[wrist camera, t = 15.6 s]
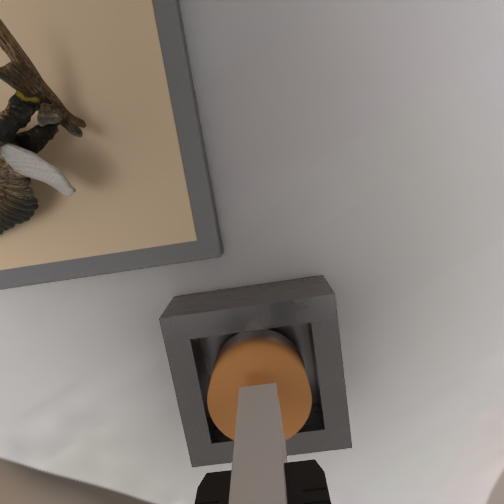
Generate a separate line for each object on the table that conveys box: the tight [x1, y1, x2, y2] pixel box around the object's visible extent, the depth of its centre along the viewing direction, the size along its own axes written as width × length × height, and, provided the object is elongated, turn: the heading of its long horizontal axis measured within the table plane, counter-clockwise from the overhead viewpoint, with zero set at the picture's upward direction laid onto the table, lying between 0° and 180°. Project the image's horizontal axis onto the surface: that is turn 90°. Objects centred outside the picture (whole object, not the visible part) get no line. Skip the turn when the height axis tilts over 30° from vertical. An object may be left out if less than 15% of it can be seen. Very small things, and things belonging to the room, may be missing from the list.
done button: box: [207, 329, 312, 441], centre depth 17 cm, size 5×5×2 cm
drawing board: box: [0, 0, 223, 290], centre depth 17 cm, size 18×16×1 cm
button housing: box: [159, 275, 352, 467], centre depth 19 cm, size 8×8×3 cm
